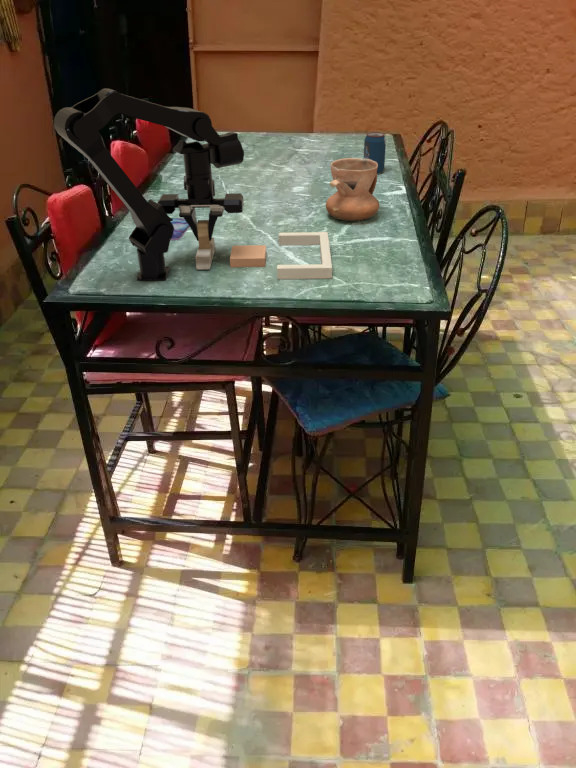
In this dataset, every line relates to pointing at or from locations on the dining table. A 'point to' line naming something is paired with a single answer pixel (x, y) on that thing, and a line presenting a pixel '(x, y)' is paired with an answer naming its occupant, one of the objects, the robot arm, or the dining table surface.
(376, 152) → the soda can
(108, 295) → the dining table surface
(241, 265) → the tile
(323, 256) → the beige u-shaped frame
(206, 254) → the beige t-shaped block
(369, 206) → the ceramic jug
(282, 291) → the dining table surface
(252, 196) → the dining table surface
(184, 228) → the smartphone
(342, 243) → the dining table surface
